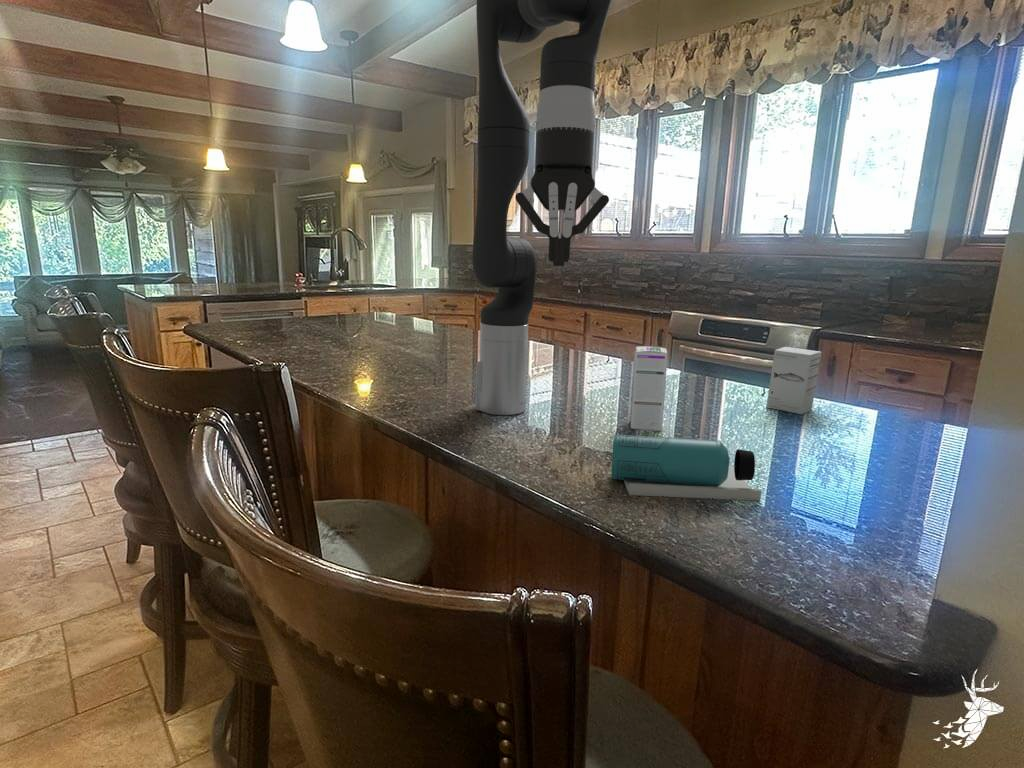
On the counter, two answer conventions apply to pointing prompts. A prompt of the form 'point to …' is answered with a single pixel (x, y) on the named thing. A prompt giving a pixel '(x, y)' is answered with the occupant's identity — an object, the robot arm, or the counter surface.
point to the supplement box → (793, 379)
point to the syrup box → (648, 388)
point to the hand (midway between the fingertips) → (558, 266)
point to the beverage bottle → (677, 460)
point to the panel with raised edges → (697, 489)
